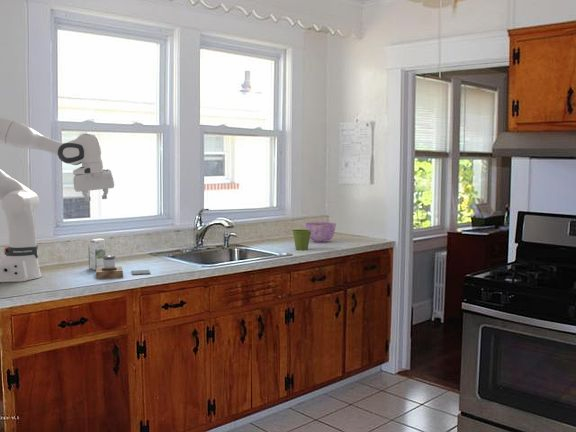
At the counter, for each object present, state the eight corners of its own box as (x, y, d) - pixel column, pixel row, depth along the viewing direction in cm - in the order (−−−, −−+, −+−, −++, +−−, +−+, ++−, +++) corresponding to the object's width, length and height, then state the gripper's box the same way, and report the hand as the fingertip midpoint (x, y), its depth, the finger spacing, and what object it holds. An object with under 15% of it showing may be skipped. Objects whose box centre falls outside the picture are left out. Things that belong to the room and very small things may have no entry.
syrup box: (99, 267, 287) (98, 237, 285) (106, 268, 283) (105, 238, 282) (88, 268, 282) (87, 238, 281) (95, 270, 279) (94, 240, 277)
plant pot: (298, 251, 337) (298, 232, 336) (288, 248, 347) (288, 230, 346) (315, 249, 343) (315, 230, 342) (305, 247, 353) (305, 228, 352)
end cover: (103, 277, 262) (102, 257, 261) (102, 275, 267) (102, 255, 266) (116, 276, 264) (115, 256, 263) (115, 274, 269) (115, 254, 268)
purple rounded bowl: (309, 239, 391) (309, 221, 390) (338, 240, 386) (338, 222, 385) (301, 243, 372) (302, 224, 371) (332, 244, 367) (333, 225, 366)
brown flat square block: (96, 278, 258) (96, 272, 258) (96, 274, 269) (96, 267, 269) (122, 277, 262) (122, 270, 261) (121, 272, 272) (121, 266, 272)
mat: (132, 275, 267) (132, 273, 266) (131, 272, 274) (131, 270, 274) (150, 274, 269) (150, 272, 269) (148, 271, 277) (148, 269, 277)
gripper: (105, 168, 274) (109, 198, 275) (69, 171, 257) (73, 202, 258) (115, 167, 271) (118, 197, 272) (79, 170, 253) (83, 202, 255)
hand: (96, 200), depth 265 cm, fingers open, 8 cm apart
